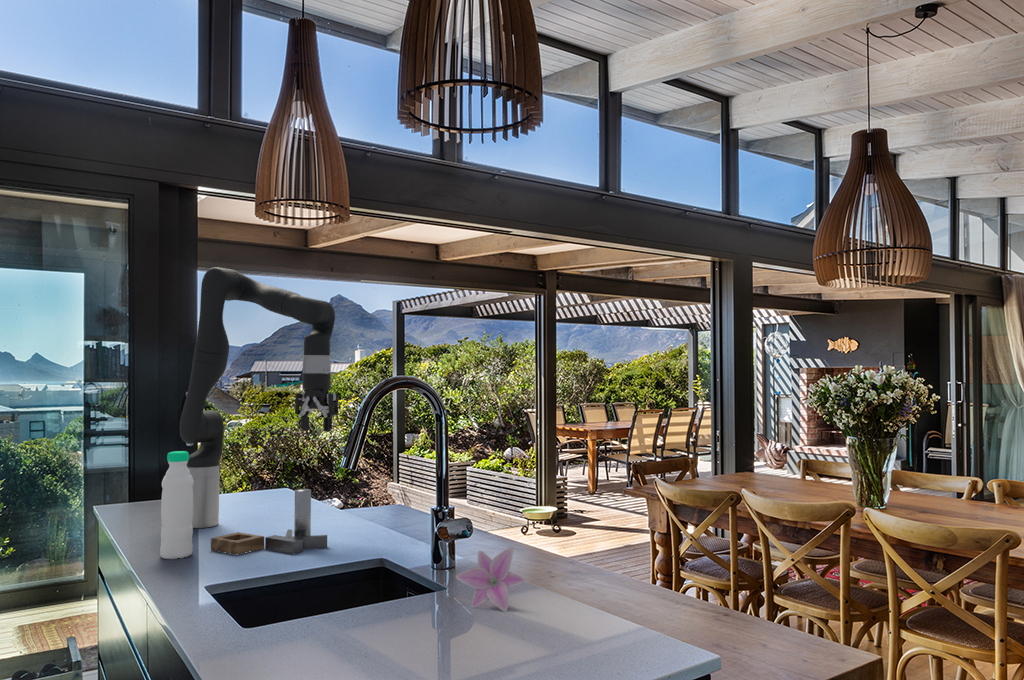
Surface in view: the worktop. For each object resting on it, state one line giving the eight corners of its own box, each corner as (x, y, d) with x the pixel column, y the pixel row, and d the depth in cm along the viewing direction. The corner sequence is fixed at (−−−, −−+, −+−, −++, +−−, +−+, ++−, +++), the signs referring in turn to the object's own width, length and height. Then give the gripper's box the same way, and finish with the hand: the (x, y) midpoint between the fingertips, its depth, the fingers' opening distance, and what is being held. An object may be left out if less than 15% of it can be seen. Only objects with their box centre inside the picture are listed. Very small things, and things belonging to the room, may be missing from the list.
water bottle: (169, 561, 169) (171, 453, 171) (154, 557, 174) (156, 452, 175) (198, 555, 175) (199, 451, 176) (182, 551, 179) (184, 449, 181)
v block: (259, 548, 182) (259, 536, 182) (290, 540, 190) (290, 529, 190) (299, 555, 174) (299, 542, 175) (329, 547, 183) (329, 535, 183)
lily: (450, 605, 139) (447, 568, 135) (490, 570, 147) (488, 533, 143) (497, 637, 132) (496, 598, 128) (537, 598, 140) (536, 561, 136)
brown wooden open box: (210, 550, 180) (211, 538, 180) (237, 543, 187) (238, 532, 187) (237, 555, 175) (237, 542, 175) (264, 548, 182) (264, 536, 182)
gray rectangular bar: (290, 546, 184) (291, 490, 185) (302, 543, 187) (303, 488, 188) (301, 548, 182) (302, 491, 183) (313, 545, 185) (314, 489, 186)
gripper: (288, 372, 200) (287, 431, 199) (325, 371, 193) (324, 433, 192) (308, 372, 207) (308, 429, 206) (345, 371, 199) (345, 431, 198)
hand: (316, 431), depth 199 cm, fingers open, 8 cm apart
